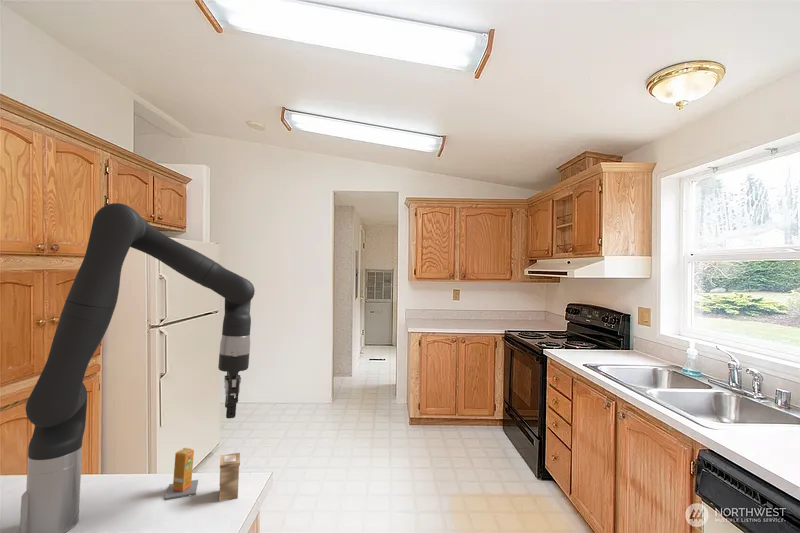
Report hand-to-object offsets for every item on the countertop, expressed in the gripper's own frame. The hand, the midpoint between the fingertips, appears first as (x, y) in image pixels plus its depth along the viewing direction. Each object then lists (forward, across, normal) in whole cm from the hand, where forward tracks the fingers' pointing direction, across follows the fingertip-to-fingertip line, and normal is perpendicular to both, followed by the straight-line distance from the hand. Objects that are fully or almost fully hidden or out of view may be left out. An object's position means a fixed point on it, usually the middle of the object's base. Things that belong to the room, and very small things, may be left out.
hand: (229, 412), depth 104 cm
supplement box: (+21, -6, -10) cm, 24 cm away
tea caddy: (+21, +1, +1) cm, 21 cm away
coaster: (+22, -6, -10) cm, 24 cm away
